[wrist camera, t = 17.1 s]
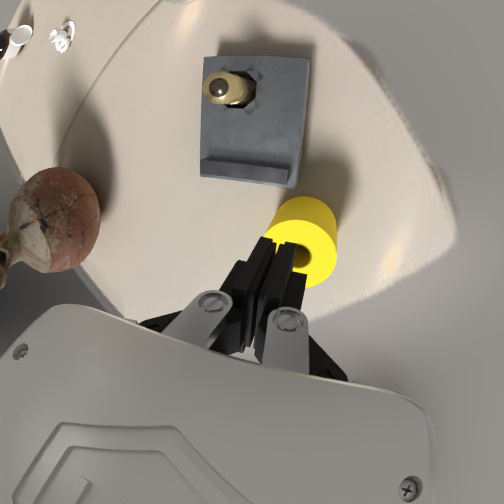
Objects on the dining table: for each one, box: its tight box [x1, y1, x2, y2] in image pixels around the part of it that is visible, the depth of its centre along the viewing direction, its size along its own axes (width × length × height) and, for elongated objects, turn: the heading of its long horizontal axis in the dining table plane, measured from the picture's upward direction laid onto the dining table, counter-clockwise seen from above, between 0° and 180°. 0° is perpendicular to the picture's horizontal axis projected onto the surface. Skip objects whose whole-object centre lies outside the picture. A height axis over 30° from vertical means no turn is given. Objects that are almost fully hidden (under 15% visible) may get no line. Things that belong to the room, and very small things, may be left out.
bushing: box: [203, 71, 257, 104], centre depth 30 cm, size 4×4×10 cm
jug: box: [0, 167, 100, 289], centre depth 41 cm, size 22×22×30 cm
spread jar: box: [0, 25, 32, 60], centre depth 29 cm, size 12×11×12 cm
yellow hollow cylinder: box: [264, 196, 337, 288], centre depth 39 cm, size 10×10×9 cm
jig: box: [200, 55, 311, 189], centre depth 33 cm, size 18×14×6 cm
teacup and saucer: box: [49, 21, 75, 53], centre depth 32 cm, size 9×8×4 cm
